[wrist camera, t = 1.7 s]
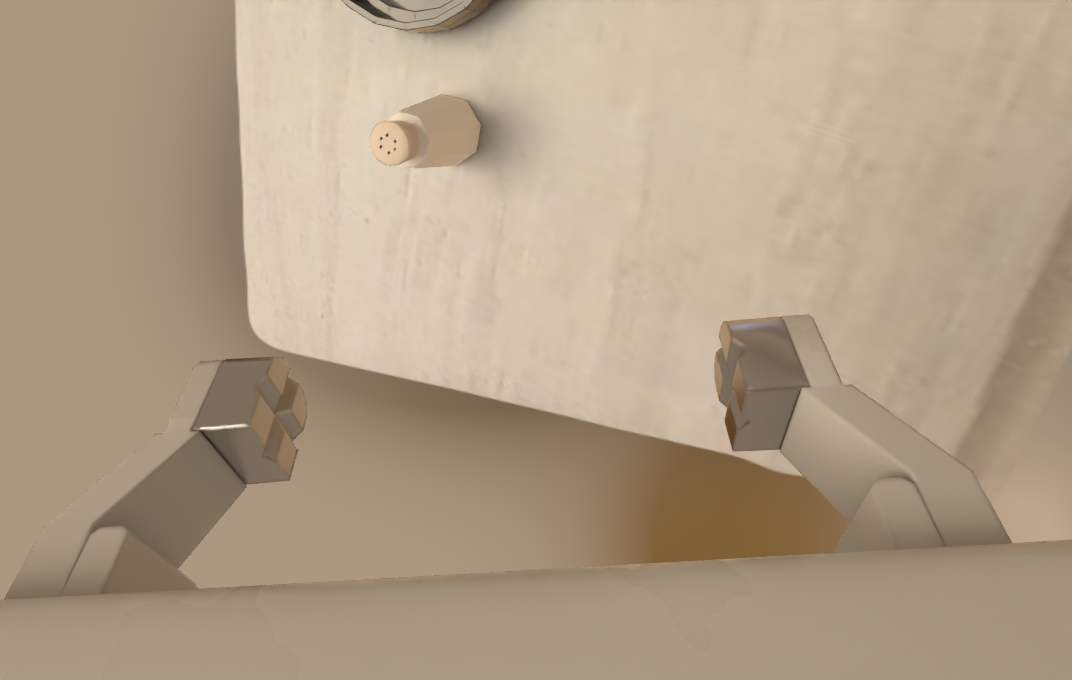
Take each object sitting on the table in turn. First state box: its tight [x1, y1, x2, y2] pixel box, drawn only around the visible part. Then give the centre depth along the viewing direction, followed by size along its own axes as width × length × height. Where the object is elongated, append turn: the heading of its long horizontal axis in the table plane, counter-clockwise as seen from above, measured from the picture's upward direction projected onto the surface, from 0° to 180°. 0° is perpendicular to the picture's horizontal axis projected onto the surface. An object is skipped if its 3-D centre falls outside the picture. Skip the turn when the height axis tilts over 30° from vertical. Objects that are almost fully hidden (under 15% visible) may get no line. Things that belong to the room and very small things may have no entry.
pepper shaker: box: [370, 94, 481, 168], centre depth 46 cm, size 5×5×11 cm
